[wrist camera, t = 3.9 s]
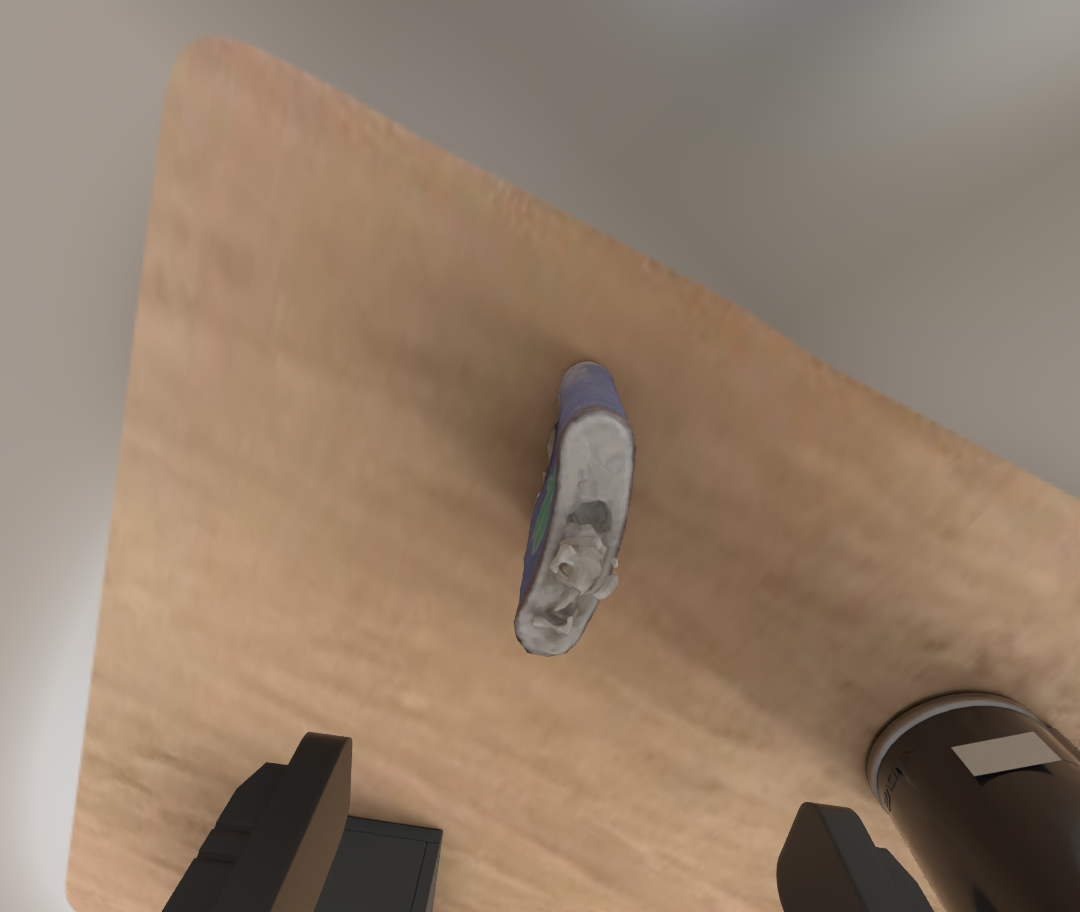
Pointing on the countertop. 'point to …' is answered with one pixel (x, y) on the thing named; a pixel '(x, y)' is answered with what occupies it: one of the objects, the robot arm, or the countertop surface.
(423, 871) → the box
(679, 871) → the countertop surface
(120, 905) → the countertop surface
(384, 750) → the countertop surface
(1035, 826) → the robot arm
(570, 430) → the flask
